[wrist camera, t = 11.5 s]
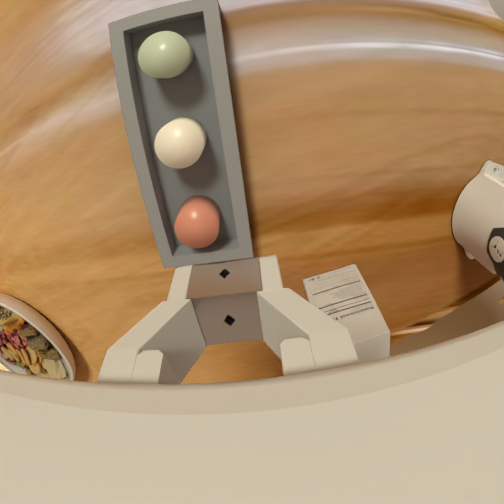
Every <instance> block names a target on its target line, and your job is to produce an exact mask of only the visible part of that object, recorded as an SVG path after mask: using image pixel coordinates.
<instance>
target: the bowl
mask: <svg viewBox="0 0 504 504" xmlns="http://www.w3.org/2000/svg"><path fill="white" fill-rule="evenodd" d="M0 363H1V364H2V365H3V366H5V367H6V368H7V369H8V370H10V371H11V372H14V373H20V374H26V375H33V376H39V377H47V378H55V379H64V380H74V377H75V371H76V369H75V361H74V358H73V355H72V352H71V350H70V348H69V346H68V345H67V343H66V341H65V340H64V339H63V337H62V336H61V335H60V333H59V332H58V331H57V330H56V329H55V327H54V326H53V325H52V324H51V323H50V322H49V321H48V320H47V319H46V318H44V317H43V316H42V315H41V314H40V313H38V312H37V311H36V310H35V309H33V308H32V307H30V306H29V305H27V304H26V303H24V302H22V301H21V300H19V299H17V298H14V297H12V296H9V295H6V294H3V293H0Z"/></svg>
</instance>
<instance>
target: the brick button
mask: <svg viewBox="0 0 504 504" xmlns="http://www.w3.org/2000/svg"><path fill="white" fill-rule="evenodd" d="M219 224H220V209H219V206H218V205H217V203H216V202H215V201H214V200H213V199H211V198H209V197H207V196H203V195H196V196H192V197H190V198H188V199H187V200H186V201H185V202H184V203H183V204H182V206H181V209H180V211H179V214H178V216H177V219H176V221H175V225H174V230H175V234H176V236H177V238H178V239H179V240H180V241H181V242H182V243H183V244H185V245H186V246H189V247H192V248H204V247H207V246H209V245H210V244H212V243H213V242H214V241H215V240H216V238H217V236H218V232H219Z"/></svg>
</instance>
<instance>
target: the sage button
mask: <svg viewBox="0 0 504 504" xmlns="http://www.w3.org/2000/svg"><path fill="white" fill-rule="evenodd" d="M193 59H194V51H193V47H192V46H191V44H190V43H189V42H188V41H187V40H186V39H185V38H183V37H182V36H180V35H179V34H177V33H175V32H172V31H161V32H157V33H155V34H152V35H151V36H149V37H148V38H147V39H146V40H145V41H144V42H143V43H142V45H141V47H140V49H139V52H138V62H139V65H140V67H141V69H142V70H143V72H145V73H146V74H147V75H149V76H151V77H154V78H175V77H178V76H180V75H182V74H184V73H185V72H186V71H187V70H188V69H189V68H190V66H191V65H192V63H193Z"/></svg>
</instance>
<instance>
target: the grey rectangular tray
mask: <svg viewBox="0 0 504 504" xmlns="http://www.w3.org/2000/svg"><path fill="white" fill-rule="evenodd" d="M108 26H109V34H110V42H111V49H112V56H113V63H114V69H115V75H116V81H117V86H118V92H119V97H120V103H121V108H122V113H123V118H124V122H125V127H126V132H127V136H128V141H129V145H130V149H131V153H132V158H133V162H134V166H135V170H136V174H137V178H138V181H139V185H140V189H141V193H142V196H143V200H144V204H145V207H146V211H147V214H148V218H149V221H150V224H151V228H152V231H153V234H154V238H155V241H156V244H157V247H158V250H159V254H160V257H161V260H162V263H163V266H164V268H170V267H179V266H187V265H195V264H204V263H212V262H220V261H229V260H237V259H245V258H253V246H252V238H251V230H250V223H249V216H248V209H247V201H246V194H245V187H244V180H243V173H242V165H241V158H240V151H239V144H238V137H237V129H236V122H235V115H234V108H233V101H232V94H231V86H230V79H229V72H228V65H227V58H226V51H225V44H224V36H223V29H222V22H221V15H220V8H219V3H218V0H191V1H186V2H181V3H177V4H172V5H168V6H164V7H160V8H156V9H153V10H149V11H146V12H142V13H139V14H136V15H132V16H129V17H126V18H123V19H120V20H117V21H114V22H112V23H109V24H108ZM161 31H172V32H175V33H177V34H179V35H180V36H182V37H183V38H185V39H186V40H187V41H188V42H189V43H190V44H191V46H192V47H193V51H194V59H193V63H192V65H191V66H190V68H189V69H188V70H187V71H186V72H185V73H184V74H182V75H180V76H178V77H175V78H154V77H151V76H149V75H147V74H146V73H145V72H143V70H142V69H141V67H140V65H139V62H138V52H139V49H140V47H141V45H142V43H143V42H144V41H145V40H146V39H147V38H148V37H149V36H151V35H152V34H155V33H157V32H161ZM183 116H187V117H192V118H195V119H197V120H198V121H199V122H201V123H202V125H203V126H204V128H205V130H206V133H207V142H206V145H205V147H204V149H203V151H202V154H201V156H200V157H199V159H198V160H197V161H196V162H195V163H194V164H192V165H191V166H189V167H186V168H181V169H176V168H171V167H169V166H167V165H165V164H164V163H162V162H161V161H160V159H159V158H158V156H157V155H156V152H155V147H154V143H155V138H156V135H157V133H158V132H159V130H160V129H161V128H162V127H163V126H165V125H166V124H168V123H169V122H171V121H172V120H174V119H176V118H178V117H183ZM196 195H203V196H207V197H209V198H211V199H213V200H214V201H215V202H216V203H217V205H218V206H219V209H220V224H219V232H218V236H217V238H216V240H215V241H214V242H213V243H212V244H210V245H209V246H207V247H204V248H192V247H189V246H186V245H185V244H183V243H182V242H181V241H180V240H179V239H178V238H177V236H176V234H175V230H174V225H175V221H176V219H177V216H178V214H179V211H180V209H181V206H182V204H183V203H184V202H185V201H186V200H187V199H188V198H190V197H192V196H196Z"/></svg>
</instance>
